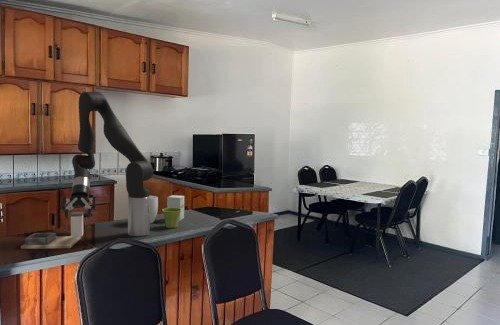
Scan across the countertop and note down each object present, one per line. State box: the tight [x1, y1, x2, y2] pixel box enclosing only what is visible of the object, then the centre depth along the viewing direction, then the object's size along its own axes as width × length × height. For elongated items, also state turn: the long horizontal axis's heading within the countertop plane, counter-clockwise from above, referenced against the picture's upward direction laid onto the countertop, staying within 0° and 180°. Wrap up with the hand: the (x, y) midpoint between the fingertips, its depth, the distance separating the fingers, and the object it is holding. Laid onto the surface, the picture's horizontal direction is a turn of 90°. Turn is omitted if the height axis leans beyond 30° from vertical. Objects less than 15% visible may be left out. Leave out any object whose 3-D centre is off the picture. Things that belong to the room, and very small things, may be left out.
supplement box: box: [166, 194, 185, 222], centre depth 203 cm, size 7×7×13 cm
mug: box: [149, 195, 159, 224], centre depth 193 cm, size 15×11×13 cm
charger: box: [70, 211, 84, 238], centre depth 167 cm, size 4×4×10 cm
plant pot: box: [161, 207, 182, 229], centre depth 187 cm, size 9×9×9 cm
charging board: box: [20, 232, 82, 250], centre depth 154 cm, size 18×14×4 cm
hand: (77, 217), depth 168 cm, fingers open, 8 cm apart
